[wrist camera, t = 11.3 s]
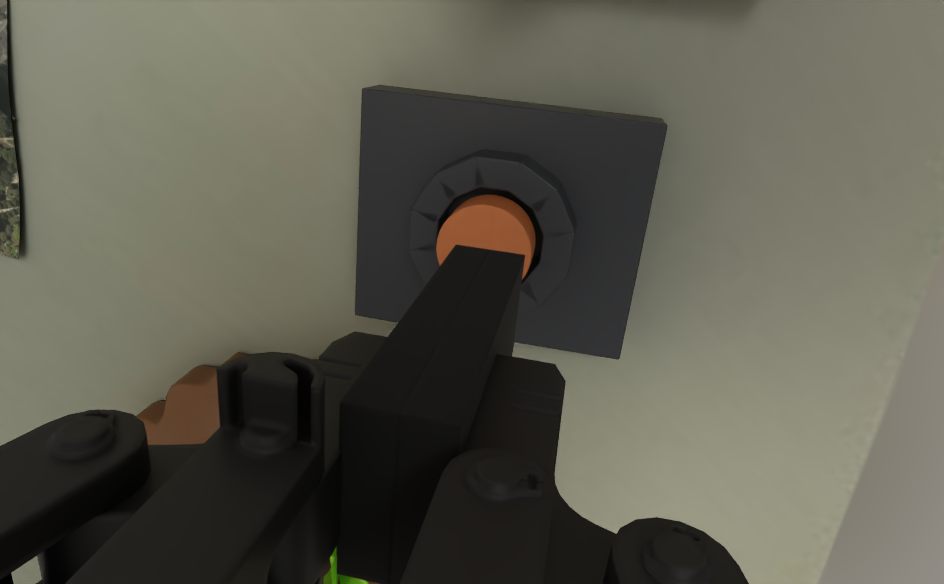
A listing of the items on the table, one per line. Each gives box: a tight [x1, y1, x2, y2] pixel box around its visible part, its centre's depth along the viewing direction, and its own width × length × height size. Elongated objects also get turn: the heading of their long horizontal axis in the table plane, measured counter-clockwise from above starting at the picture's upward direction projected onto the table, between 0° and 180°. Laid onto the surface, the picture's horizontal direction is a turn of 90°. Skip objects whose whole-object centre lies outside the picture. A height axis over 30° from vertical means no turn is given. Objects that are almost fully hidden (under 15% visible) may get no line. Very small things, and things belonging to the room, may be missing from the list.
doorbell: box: [355, 85, 667, 359], centre depth 27 cm, size 12×10×4 cm
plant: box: [136, 352, 379, 584], centre depth 32 cm, size 20×20×11 cm
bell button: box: [436, 194, 536, 279], centre depth 25 cm, size 4×4×2 cm
